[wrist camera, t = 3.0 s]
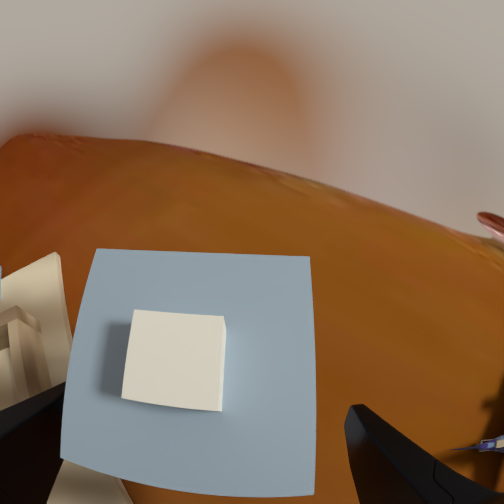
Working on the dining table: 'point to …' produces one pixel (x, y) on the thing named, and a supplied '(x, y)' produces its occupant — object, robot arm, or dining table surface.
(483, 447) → the toy airplane
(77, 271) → the dining table surface
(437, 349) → the dining table surface
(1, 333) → the jig
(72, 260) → the dining table surface
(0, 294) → the light blue bar
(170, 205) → the dining table surface
